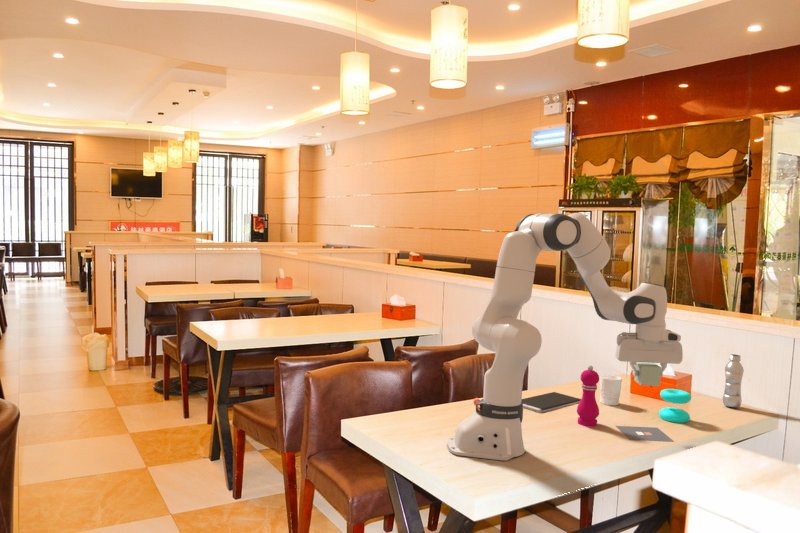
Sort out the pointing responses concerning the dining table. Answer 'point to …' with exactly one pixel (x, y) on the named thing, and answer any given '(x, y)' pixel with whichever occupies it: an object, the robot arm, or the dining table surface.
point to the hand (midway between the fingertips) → (647, 376)
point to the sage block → (648, 374)
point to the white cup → (610, 389)
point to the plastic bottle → (733, 382)
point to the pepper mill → (588, 399)
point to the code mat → (644, 433)
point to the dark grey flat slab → (548, 402)
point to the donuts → (677, 398)
